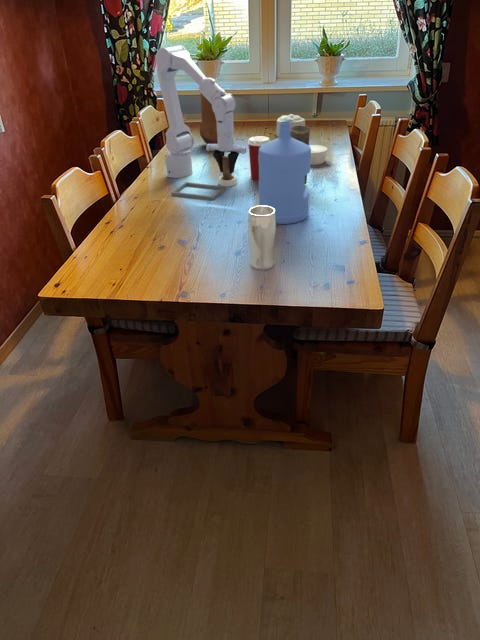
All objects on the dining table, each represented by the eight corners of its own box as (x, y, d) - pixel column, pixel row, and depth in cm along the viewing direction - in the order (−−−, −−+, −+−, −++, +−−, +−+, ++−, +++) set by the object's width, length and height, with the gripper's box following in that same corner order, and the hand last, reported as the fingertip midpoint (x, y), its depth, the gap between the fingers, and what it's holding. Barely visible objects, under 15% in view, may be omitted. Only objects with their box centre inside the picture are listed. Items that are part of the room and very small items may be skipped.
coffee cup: (268, 184, 181) (268, 142, 172) (246, 183, 183) (245, 141, 174) (272, 176, 188) (272, 135, 179) (250, 175, 189) (249, 135, 181)
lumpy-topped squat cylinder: (278, 132, 242) (278, 113, 237) (305, 132, 239) (306, 113, 234) (275, 137, 233) (275, 118, 228) (303, 138, 231) (304, 118, 226)
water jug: (275, 229, 148) (275, 132, 132) (250, 212, 160) (248, 121, 144) (318, 218, 154) (323, 124, 138) (291, 202, 166) (293, 113, 150)
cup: (216, 187, 180) (215, 179, 178) (223, 181, 185) (223, 174, 183) (232, 189, 178) (232, 181, 176) (239, 183, 183) (239, 175, 181)
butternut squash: (236, 144, 226) (234, 84, 212) (220, 151, 217) (216, 89, 203) (211, 140, 232) (208, 82, 218) (194, 148, 223) (189, 87, 209)
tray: (171, 197, 173) (171, 192, 172) (186, 186, 181) (185, 182, 180) (213, 202, 168) (213, 197, 167) (226, 191, 176) (226, 186, 175)
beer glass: (247, 259, 133) (246, 206, 125) (273, 257, 133) (273, 204, 125) (250, 271, 127) (249, 216, 119) (277, 269, 128) (277, 215, 119)
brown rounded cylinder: (309, 183, 180) (311, 125, 169) (304, 190, 175) (307, 131, 163) (288, 181, 183) (290, 124, 171) (283, 188, 177) (284, 130, 166)
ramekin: (295, 164, 199) (295, 151, 196) (303, 156, 207) (303, 143, 204) (322, 167, 195) (323, 153, 192) (329, 159, 204) (330, 145, 201)
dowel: (221, 180, 179) (220, 157, 175) (225, 177, 182) (224, 155, 177) (229, 181, 178) (228, 158, 174) (233, 178, 181) (232, 156, 176)
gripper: (201, 134, 170) (204, 173, 178) (240, 137, 165) (241, 177, 173) (210, 129, 175) (212, 167, 183) (248, 132, 171) (248, 171, 178)
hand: (227, 172), depth 179 cm, fingers closed on dowel, 3 cm apart
